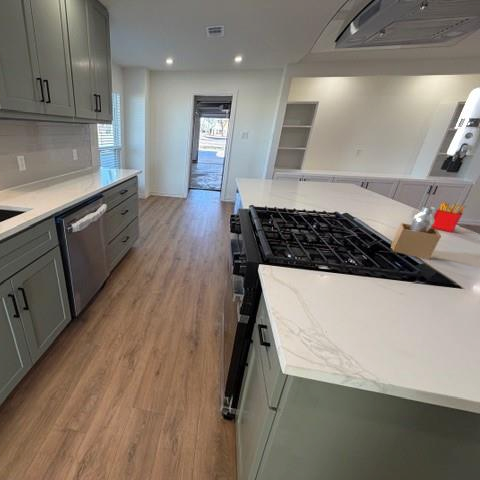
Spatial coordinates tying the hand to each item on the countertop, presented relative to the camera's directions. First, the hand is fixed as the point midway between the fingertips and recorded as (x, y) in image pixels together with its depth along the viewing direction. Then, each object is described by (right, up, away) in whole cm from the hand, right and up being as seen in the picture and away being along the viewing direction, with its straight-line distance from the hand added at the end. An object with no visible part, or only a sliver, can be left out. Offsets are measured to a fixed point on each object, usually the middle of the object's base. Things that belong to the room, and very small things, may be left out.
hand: (448, 171), depth 102 cm
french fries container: (+40, -22, +38) cm, 59 cm away
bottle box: (-10, -34, +6) cm, 36 cm away
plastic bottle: (-10, -34, +6) cm, 36 cm away
